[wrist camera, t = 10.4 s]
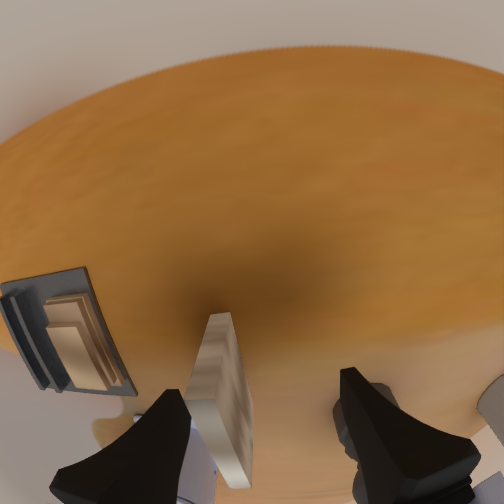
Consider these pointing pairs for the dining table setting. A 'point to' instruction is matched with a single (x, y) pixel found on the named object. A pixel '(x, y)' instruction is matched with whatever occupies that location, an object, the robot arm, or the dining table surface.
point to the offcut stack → (81, 342)
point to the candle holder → (347, 442)
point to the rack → (36, 320)
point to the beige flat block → (223, 402)
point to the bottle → (494, 407)
